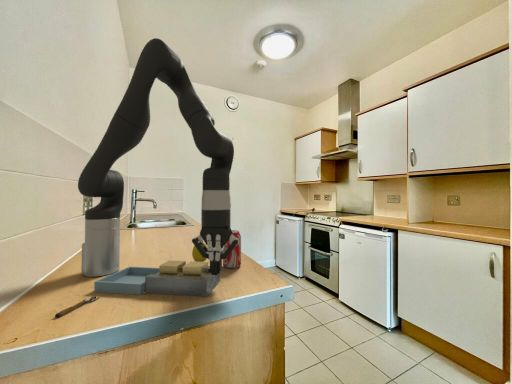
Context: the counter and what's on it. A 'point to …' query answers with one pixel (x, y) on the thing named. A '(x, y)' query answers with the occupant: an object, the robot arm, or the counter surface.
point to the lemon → (197, 255)
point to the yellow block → (195, 269)
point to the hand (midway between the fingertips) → (215, 274)
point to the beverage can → (233, 253)
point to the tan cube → (172, 268)
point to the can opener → (74, 307)
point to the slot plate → (181, 284)
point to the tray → (125, 281)
